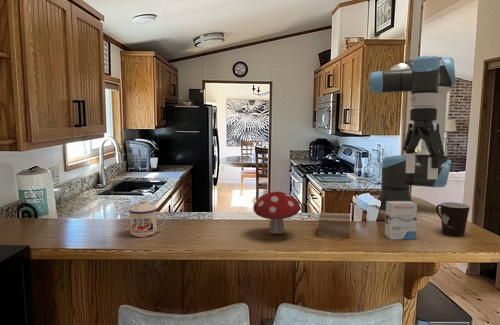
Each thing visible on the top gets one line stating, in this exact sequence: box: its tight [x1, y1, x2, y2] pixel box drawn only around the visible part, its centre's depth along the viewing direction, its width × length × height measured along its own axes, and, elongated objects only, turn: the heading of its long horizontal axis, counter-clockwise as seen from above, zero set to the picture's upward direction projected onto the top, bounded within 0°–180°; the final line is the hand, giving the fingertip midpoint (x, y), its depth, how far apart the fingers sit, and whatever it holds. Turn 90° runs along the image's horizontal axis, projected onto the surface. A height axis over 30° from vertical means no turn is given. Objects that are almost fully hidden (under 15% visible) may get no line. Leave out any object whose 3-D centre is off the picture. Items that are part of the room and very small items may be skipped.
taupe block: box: [317, 211, 351, 239], centre depth 123 cm, size 10×10×6 cm
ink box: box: [384, 201, 418, 240], centre depth 118 cm, size 8×5×12 cm, turn 90°
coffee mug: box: [435, 201, 470, 238], centre depth 123 cm, size 12×9×10 cm
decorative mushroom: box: [253, 190, 302, 235], centre depth 121 cm, size 16×16×15 cm
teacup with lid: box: [128, 199, 167, 235], centre depth 123 cm, size 12×9×12 cm
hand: (420, 176), depth 114 cm, fingers open, 13 cm apart
